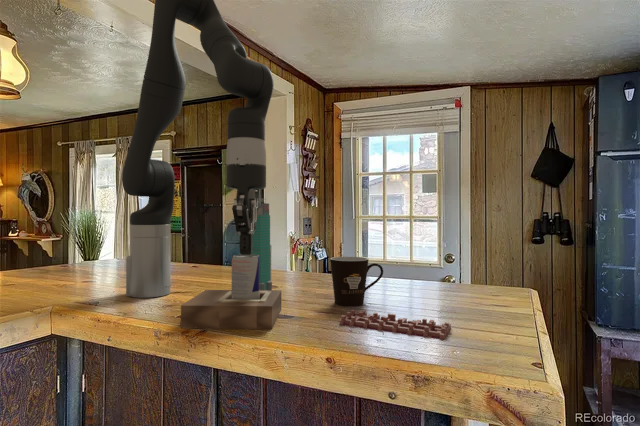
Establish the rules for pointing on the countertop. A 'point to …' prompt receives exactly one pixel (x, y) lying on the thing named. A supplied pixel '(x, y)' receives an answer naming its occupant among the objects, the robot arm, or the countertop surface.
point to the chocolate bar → (396, 324)
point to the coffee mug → (351, 279)
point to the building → (263, 244)
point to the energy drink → (246, 277)
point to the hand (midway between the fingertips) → (246, 254)
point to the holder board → (231, 311)
